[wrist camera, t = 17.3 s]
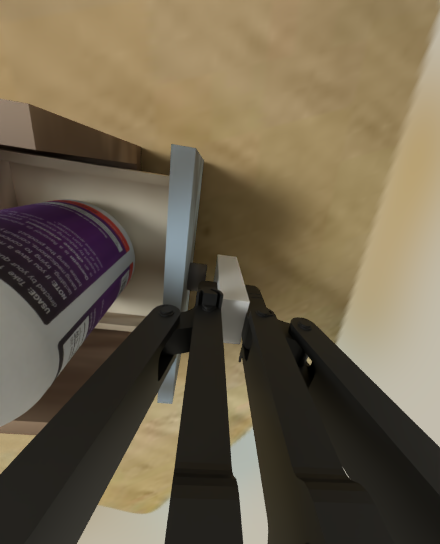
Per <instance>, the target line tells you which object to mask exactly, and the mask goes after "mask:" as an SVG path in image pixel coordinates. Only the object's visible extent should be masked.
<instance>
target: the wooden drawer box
mask: <svg viewBox="0 0 440 544" xmlns="http://www.w3.org/2000/svg"><path fill="white" fill-rule="evenodd" d="M0 149H8V150H14V151H20V152H26V153H32V154H39V155H45V156H51V157H57V158H64V159H70V160H76V161H82V162H89V163H95V164H101V165H107V166H113V167H120V168H126V169H132V170H138V171H141V147H139V146H137V145H134V144H132V143H129V142H127V141H124V140H121V139H119V138H116V137H114V136H111V135H108V134H106V133H103V132H101V131H98V130H95V129H93V128H90V127H88V126H85V125H82V124H80V123H77V122H75V121H72V120H69V119H67V118H64V117H62V116H59V115H56V114H54V113H51V112H49V111H46V110H43V109H41V108H38V107H36V106H33V105H30V104H27V103H22V102H16V101H10V100H5V99H0ZM130 334H131V332H129V331H118V330H108V329H98V328H94V329H93V330H92V332H91V333H90V334H89V335H88V337H87V338H86V339H85V341H84V342H83V343H82V345H81V346H80V347H79V349H78V350H77V351H76V353H75V354H74V355H73V356H72V358H71V359H70V361H69V362H68V363H67V365H66V366H65V367H64V369H63V370H62V371H61V372H60V374H59V375H58V376H57V378H56V379H55V381H54V382H53V383H52V385H51V386H50V387H49V388H48V389H47V391H46V392H45V393H44V395H43V396H42V397H41V399H40V400H39V401H38V402H37V403H36V404H35V405H34V406H32V407H31V408H30V409H29V410H28V411H27V412H25V413H24V414H23V415H21V416H20V417H18V418H16V419H15V420H13V421H11V422H9V423H7V424H5V425H3V426H1V427H0V433H7V434H25V435H37V434H38V433H39V432H40V431H41V430H42V429H43V428H44V427H45V426H46V424H47V423H48V422H49V421H50V420H51V419H52V418H53V417H54V416H55V415H56V414H57V413H58V411H59V410H60V409H61V408H62V407H63V406H64V405H65V404H66V403H67V402H68V401H69V400H70V399H71V397H72V396H73V395H74V394H75V393H76V392H77V391H78V390H79V389H80V388H81V387H82V386H83V384H84V383H85V382H86V381H87V380H88V379H89V378H90V377H91V376H92V375H93V374H94V373H95V371H96V370H97V369H98V368H99V367H100V366H101V365H102V364H103V363H104V362H105V361H106V360H107V358H108V357H109V356H110V355H111V354H112V353H113V352H114V351H115V350H116V349H117V348H118V347H119V345H120V344H121V343H122V342H123V341H124V340H125V339H126V338H127V337H128V336H129V335H130Z"/></svg>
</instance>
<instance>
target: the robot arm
mask: <svg viewBox="0 0 440 544" xmlns="http://www.w3.org/2000/svg"><path fill="white" fill-rule="evenodd" d="M241 337H242V341H243V343H242V348H241V352H240V356H239V362H241V359H242V360H243V366H244V373H245V379H246V385H247V392H248V398H249V404H250V411H251V417H252V424H253V430H254V436H255V442H256V449H257V455H258V462H259V468H260V474H261V481H262V487H263V493H264V500H265V506H266V512H267V519H268V544H440V447H439V446H438V445H437V444H436V443H435V442H434V441H433V440H432V439H431V438H430V437H428V435H427V434H426V433H425V432H423V430H422V429H421V428H419V427H418V425H416V424H415V423H414V422H413V421H412V420H411V419H410V418H409V417H408V416H407V415H406V414H405V413H404V412H403V411H402V410H401V409H400V408H399V407H398V406H397V405H396V404H395V403H394V402H393V401H392V400H391V399H390V398H389V397H388V396H387V395H386V394H385V393H384V392H383V391H382V390H381V389H380V388H379V387H378V386H377V385H376V384H375V383H374V382H373V381H372V380H371V379H370V378H369V377H368V376H367V375H366V374H365V373H364V372H363V371H362V370H361V369H360V368H359V367H358V366H357V365H356V364H355V363H354V362H353V361H352V360H351V359H350V358H349V357H348V356H347V355H346V354H345V353H344V352H342V350H341V349H339V347H338V346H336V345H335V344H334V343H333V342H332V341H331V340H330V339H329V338H328V337H327V336H326V335H325V334H324V333H323V332H322V331H321V330H320V329H319V328H318V327H317V326H316V325H315V324H314V323H313V322H311V321H309V320H307V319H304V318H293V319H292V320H291V323H286V322H283V321H280V320H278V319H277V318H276V315H275V314H274V312H273V311H271V310H270V309H268V308H266V305H265V303H264V300H263V298H262V295H261V293H260V290H259V289H258V288H257V287H255V286H251V285H245V284H244V280H243V277H242V274H241V270H240V267H239V263H238V260H237V257H234V256H226V255H217V262H216V268H215V275H214V282H211V281H203V280H202V281H201V282H200V283H199V284H198V290H197V296H196V304H195V307H194V308H193V309H191V310H189V311H185V312H180V310H179V308H177V307H176V306H173V305H168V304H164V305H159V306H157V307H155V308H154V309H153V310H152V311H151V312H150V313H149V314H148V315H147V316H146V317H145V318H144V319H143V321H142V322H141V323H140V324H139V325H138V326H137V327H136V328H135V329H134V330H133V331H132V332H131V334H130V335H129V336H128V337H127V338H126V339H125V340H124V341H123V342H122V343H121V344H120V345H119V347H118V348H117V349H116V350H115V351H114V352H113V353H112V354H111V355H110V356H109V357H108V358H107V360H106V361H105V362H104V363H103V364H102V365H101V366H100V367H99V368H98V369H97V370H96V371H95V373H94V374H93V375H92V376H91V377H90V378H89V379H88V380H87V381H86V382H85V383H84V384H83V386H82V387H81V388H80V389H79V390H78V391H77V392H76V393H75V394H74V395H73V396H72V397H71V399H70V400H69V401H68V402H67V403H66V404H65V405H64V406H63V407H62V408H61V409H60V410H59V411H58V413H57V414H56V415H55V416H54V417H53V418H52V419H51V420H50V421H49V422H48V423H47V424H46V426H45V427H44V428H43V429H42V430H41V431H40V432H39V433H38V434H37V435H36V436H35V437H34V439H33V440H32V441H31V442H30V443H29V444H28V445H27V446H26V447H25V448H24V449H23V450H22V452H21V453H20V454H19V455H18V456H17V457H16V458H15V459H14V460H13V461H12V462H11V463H10V465H9V466H8V467H7V468H6V469H5V470H4V471H3V472H2V473H1V474H0V544H77V542H78V540H79V538H80V536H81V535H82V533H83V531H84V529H85V527H86V525H87V524H88V521H89V520H90V518H91V516H92V514H93V512H94V510H95V508H96V506H97V505H98V503H99V501H100V499H101V497H102V495H103V494H104V492H105V490H106V488H107V486H108V484H109V482H110V480H111V479H112V477H113V475H114V473H115V471H116V469H117V467H118V466H119V464H120V462H121V460H122V458H123V456H124V454H125V452H126V451H127V449H128V447H129V445H130V443H131V441H132V439H133V437H134V436H135V434H136V432H137V430H138V428H139V426H140V424H141V422H142V421H143V419H144V417H145V415H146V413H147V411H148V409H149V407H150V406H151V404H152V402H153V400H154V398H155V396H156V394H157V393H158V391H159V389H160V387H161V385H162V383H163V381H164V379H165V378H166V376H167V374H168V372H169V370H170V368H171V366H172V364H173V363H174V361H175V359H176V356H177V354H181V353H186V352H189V359H188V367H187V375H186V383H185V391H184V398H183V406H182V414H181V422H180V430H179V438H178V445H177V453H176V461H175V469H174V476H173V483H172V490H171V498H170V506H169V514H168V521H167V529H166V537H165V544H243V536H242V525H241V513H240V502H239V492H238V485H237V481H236V478H235V477H234V476H233V473H232V466H231V451H230V436H229V421H228V406H227V390H226V375H225V360H224V345H223V343H232V344H240V342H241ZM308 357H309V358H310V359H311V360H312V363H311V365H309V364H308V362H307V361H306V360H307V358H308ZM343 468H344V470H345V471H346V473H347V475H348V476H349V478H348V476H347V475H346V473H345V471H344V470H343ZM350 479H351V480H350Z"/></svg>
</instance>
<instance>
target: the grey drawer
mask: <svg viewBox="0 0 440 544" xmlns="http://www.w3.org/2000/svg"><path fill="white" fill-rule="evenodd" d="M203 164H204V160H203V158H202V157H201V155H200V154H199V152H198V151H197V149H196V148H191V147H186V146H180V145H174V144H171V161H170V176H169V175H163V174H157V173H151V172H145V171H138V170H132V169H126V168H120V167H113V166H107V165H101V164H95V163H89V162H82V161H76V160H70V159H64V158H57V157H51V156H45V155H39V154H32V153H26V152H20V151H14V150H8V149H0V210H2V209H7V208H13V207H18V206H24V205H30V204H36V203H41V202H46V201H53V200H61V199H71V200H78V201H83V202H86V203H89V204H92V205H94V206H97V207H99V208H100V209H102V210H104V211H105V212H107V213H108V214H110V215H111V216H112V217H113V218H114V219H115V220H117V221H118V223H119V224H120V225H121V226H122V227H123V228H124V230H125V231H126V233H127V234H128V236H129V238H130V240H131V243H132V246H133V249H134V254H135V267H134V272H133V275H132V277H131V279H130V281H129V283H128V284H127V286H126V287H125V289H124V290H123V291H122V292H121V294H120V295H119V296H118V297H117V299H116V300H115V301H114V303H113V304H112V305H111V307H110V308H109V309H108V311H107V312H106V313H105V314H104V316H103V317H102V318H101V320H100V321H99V322H98V324H97V325H96V326H95V328H98V329H108V330H118V331H129V332H132V331H133V330H134V329H135V328H136V327H137V326H138V325H139V324H140V323H141V322H142V321H143V319H144V318H145V317H146V316H147V315H148V314H149V313H150V312H151V311H152V310H153V309H154V308H155V307H157V306H159V305H164V304H168V305H173V306H176V307H177V308H179V310H180V312H185V311H188V303H189V294H190V291H197V290H198V284H199V283H200V282H201V281H202V280H203V281H205V279H206V271H207V265H205V264H197V263H193V257H194V247H195V238H196V229H197V219H198V210H199V201H200V192H201V182H202V173H203ZM180 357H181V354H177V356H176V359H175V361H174V363H173V364H172V366H171V368H170V370H169V372H168V374H167V376H166V378H165V379H164V381H163V383H162V385H161V387H160V389H159V391H158V402H157V403H169V404H172V402H173V396H174V391H175V385H176V380H177V374H178V368H179V363H180Z"/></svg>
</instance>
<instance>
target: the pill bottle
mask: <svg viewBox="0 0 440 544" xmlns="http://www.w3.org/2000/svg"><path fill="white" fill-rule="evenodd" d="M134 267H135V254H134V249H133V246H132V243H131V240H130V238H129V236H128V234H127V233H126V231H125V230H124V228H123V227H122V226H121V225H120V224H119V223H118V221H117V220H115V219H114V218H113V217H112V216H111V215H110V214H108V213H107V212H105V211H104V210H102V209H100V208H99V207H97V206H94V205H92V204H89V203H86V202H83V201H78V200H71V199H61V200H53V201H46V202H41V203H36V204H30V205H24V206H18V207H13V208H7V209H2V210H0V427H1V426H3V425H5V424H7V423H9V422H11V421H13V420H15V419H16V418H18V417H20V416H21V415H23V414H24V413H25V412H27V411H28V410H29V409H30V408H31V407H32V406H34V405H35V404H36V403H37V402H38V401H39V400H40V399H41V397H42V396H43V395H44V393H45V392H46V391H47V389H48V388H49V387H50V386H51V385H52V383H53V382H54V381H55V379H56V378H57V376H58V375H59V374H60V372H61V371H62V370H63V369H64V367H65V366H66V365H67V363H68V362H69V361H70V359H71V358H72V356H73V355H74V354H75V353H76V351H77V350H78V349H79V347H80V346H81V345H82V343H83V342H84V341H85V339H86V338H87V337H88V335H89V334H90V333H91V332H92V330H93V329H94V328H95V326H96V325H97V324H98V322H99V321H100V320H101V318H102V317H103V316H104V314H105V313H106V312H107V311H108V309H109V308H110V307H111V305H112V304H113V303H114V301H115V300H116V299H117V297H118V296H119V295H120V294H121V292H122V291H123V290H124V289H125V287H126V286H127V284H128V283H129V281H130V279H131V277H132V275H133V272H134Z"/></svg>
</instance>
